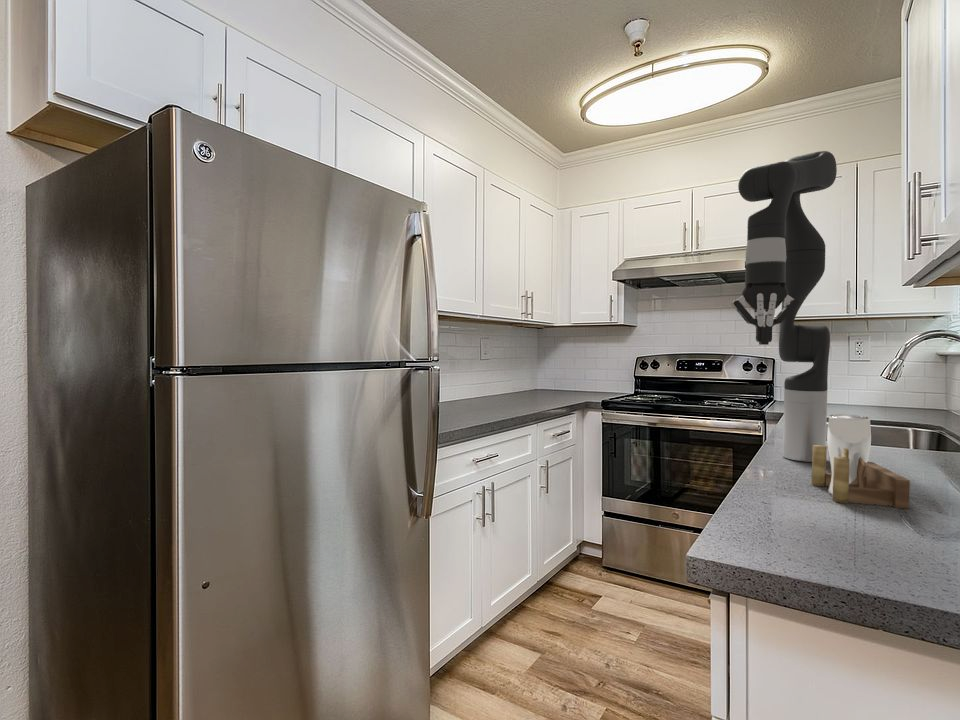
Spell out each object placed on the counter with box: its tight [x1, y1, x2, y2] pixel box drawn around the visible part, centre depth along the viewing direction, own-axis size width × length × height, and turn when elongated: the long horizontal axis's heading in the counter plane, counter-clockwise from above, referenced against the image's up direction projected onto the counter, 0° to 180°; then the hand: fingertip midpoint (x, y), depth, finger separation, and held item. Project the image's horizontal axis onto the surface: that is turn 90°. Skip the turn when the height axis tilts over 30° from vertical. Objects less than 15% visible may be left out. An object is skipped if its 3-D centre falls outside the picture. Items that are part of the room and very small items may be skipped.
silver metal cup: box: [826, 413, 872, 495], centre depth 104 cm, size 7×7×15 cm
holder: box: [811, 445, 911, 510], centre depth 104 cm, size 15×11×8 cm
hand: (763, 344), depth 115 cm, fingers closed
